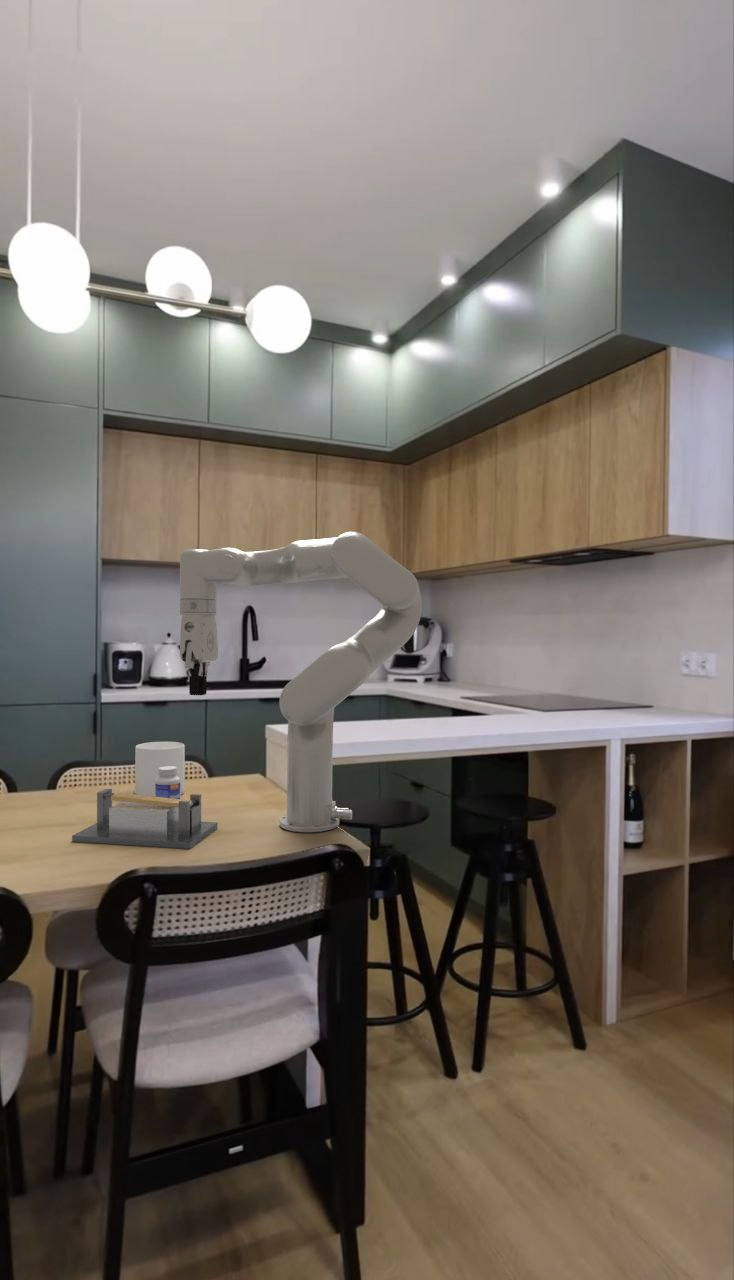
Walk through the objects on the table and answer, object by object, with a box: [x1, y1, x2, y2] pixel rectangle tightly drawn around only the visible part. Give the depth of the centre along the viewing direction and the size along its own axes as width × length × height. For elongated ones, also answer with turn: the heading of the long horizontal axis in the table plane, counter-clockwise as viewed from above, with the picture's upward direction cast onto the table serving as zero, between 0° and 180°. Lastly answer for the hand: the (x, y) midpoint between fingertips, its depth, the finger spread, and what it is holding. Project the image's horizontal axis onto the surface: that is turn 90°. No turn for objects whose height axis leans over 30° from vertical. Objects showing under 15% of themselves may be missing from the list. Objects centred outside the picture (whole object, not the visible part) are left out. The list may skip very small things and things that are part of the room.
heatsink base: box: [71, 788, 219, 850], centre depth 143 cm, size 24×14×8 cm, turn 81°
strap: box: [111, 792, 196, 807], centre depth 143 cm, size 16×4×1 cm, turn 81°
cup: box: [134, 741, 186, 796], centre depth 178 cm, size 12×12×12 cm
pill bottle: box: [155, 766, 181, 799], centre depth 161 cm, size 5×5×10 cm
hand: (197, 694), depth 152 cm, fingers closed
